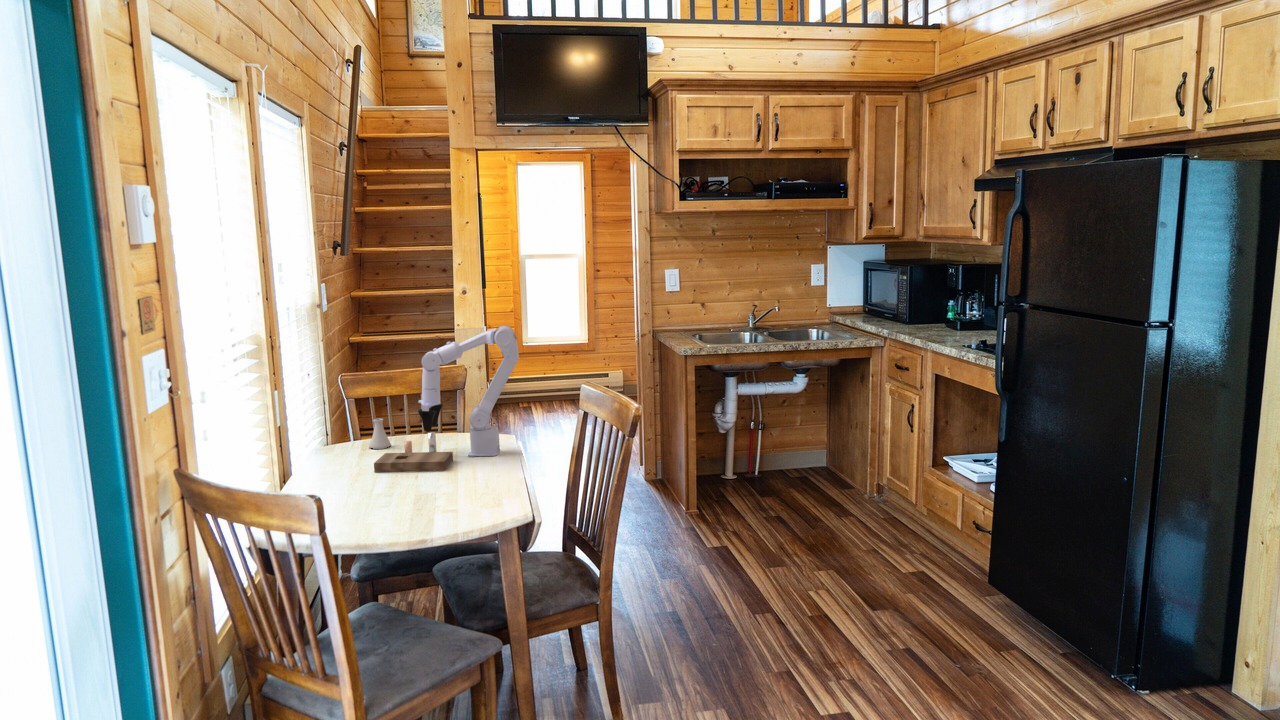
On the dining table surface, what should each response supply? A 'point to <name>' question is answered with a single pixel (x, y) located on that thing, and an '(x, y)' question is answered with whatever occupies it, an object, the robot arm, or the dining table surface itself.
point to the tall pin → (432, 441)
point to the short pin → (408, 446)
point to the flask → (379, 436)
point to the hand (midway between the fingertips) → (430, 428)
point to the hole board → (413, 461)
